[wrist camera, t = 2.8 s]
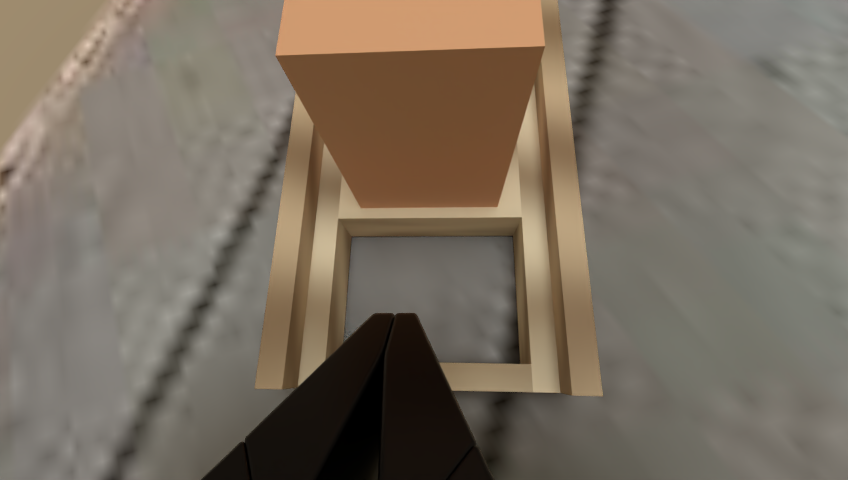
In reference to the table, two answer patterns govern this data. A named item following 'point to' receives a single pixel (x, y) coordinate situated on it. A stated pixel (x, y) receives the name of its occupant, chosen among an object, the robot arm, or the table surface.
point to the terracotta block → (415, 92)
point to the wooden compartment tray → (515, 216)
